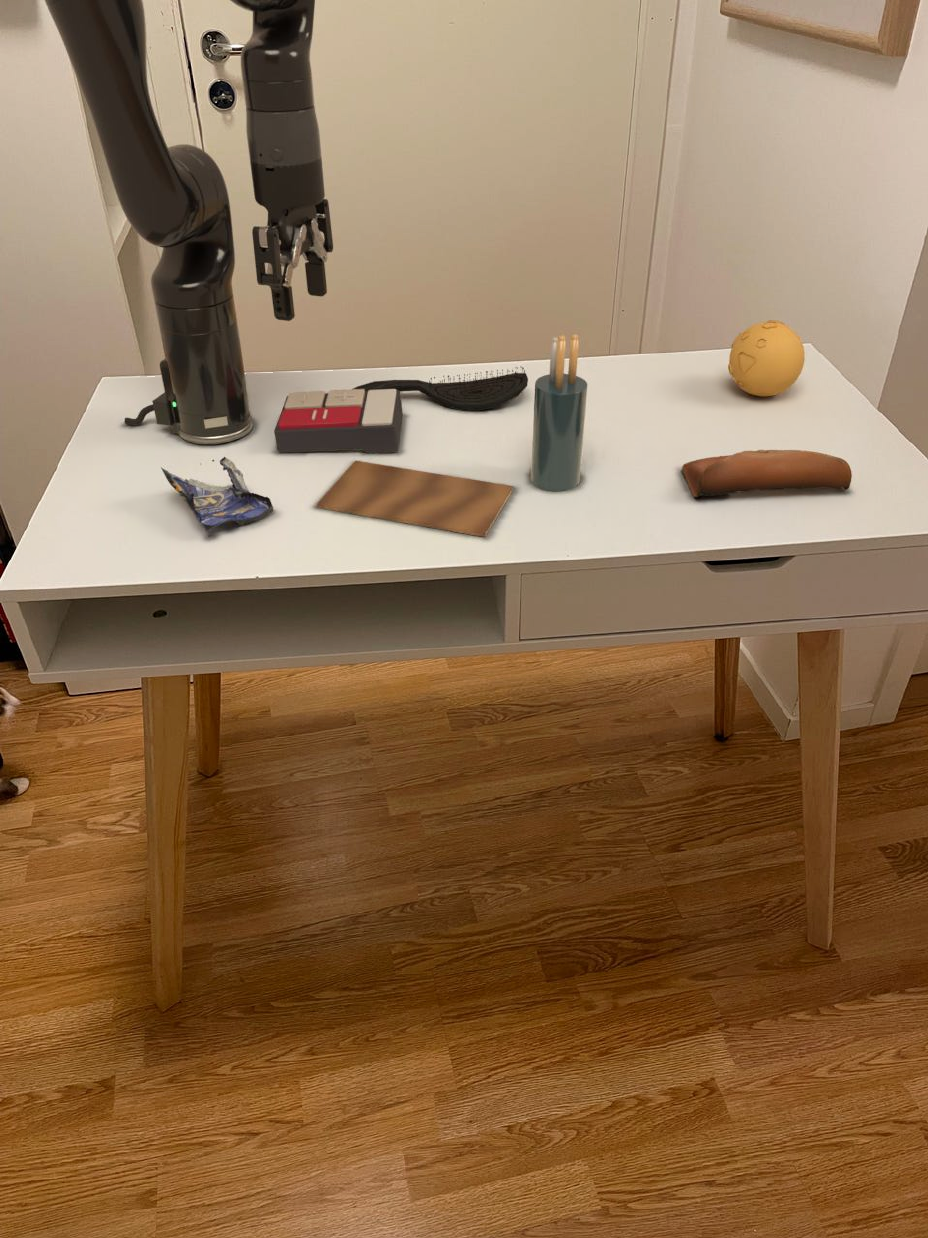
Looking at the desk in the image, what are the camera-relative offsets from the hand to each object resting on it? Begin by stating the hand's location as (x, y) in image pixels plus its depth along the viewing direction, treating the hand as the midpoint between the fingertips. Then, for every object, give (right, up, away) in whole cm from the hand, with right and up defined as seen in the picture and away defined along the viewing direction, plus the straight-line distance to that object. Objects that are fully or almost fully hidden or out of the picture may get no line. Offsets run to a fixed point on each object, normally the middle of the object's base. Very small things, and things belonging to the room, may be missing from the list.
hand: (301, 306), depth 111 cm
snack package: (-9, -24, -3) cm, 26 cm away
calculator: (+3, -12, +13) cm, 18 cm away
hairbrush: (+15, -6, +21) cm, 27 cm away
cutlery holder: (+30, -19, +3) cm, 36 cm away
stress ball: (+60, -5, +23) cm, 64 cm away
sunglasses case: (+54, -20, +3) cm, 58 cm away
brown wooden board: (+13, -22, -1) cm, 26 cm away
